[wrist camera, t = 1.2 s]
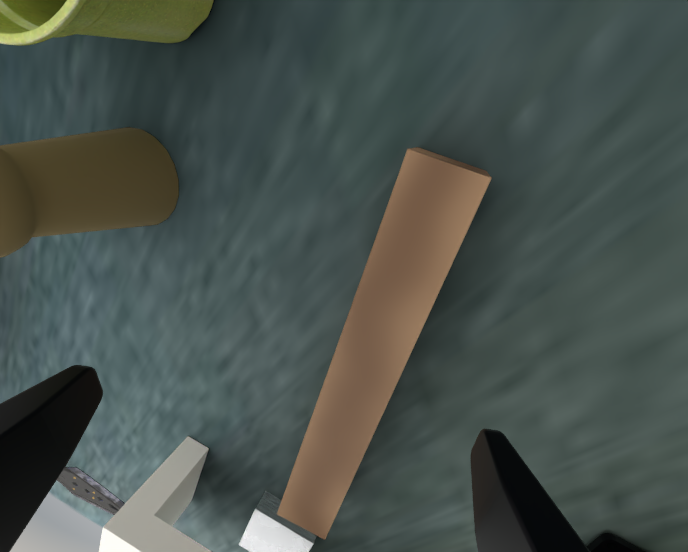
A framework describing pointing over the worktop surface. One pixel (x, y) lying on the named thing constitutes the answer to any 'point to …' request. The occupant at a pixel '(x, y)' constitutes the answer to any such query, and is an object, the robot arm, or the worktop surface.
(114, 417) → the worktop surface
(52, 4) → the plant pot
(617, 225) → the worktop surface
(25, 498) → the robot arm
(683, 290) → the worktop surface
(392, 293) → the walnut bar
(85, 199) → the cork
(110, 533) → the white bridge block
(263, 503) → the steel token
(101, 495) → the throwing knife
